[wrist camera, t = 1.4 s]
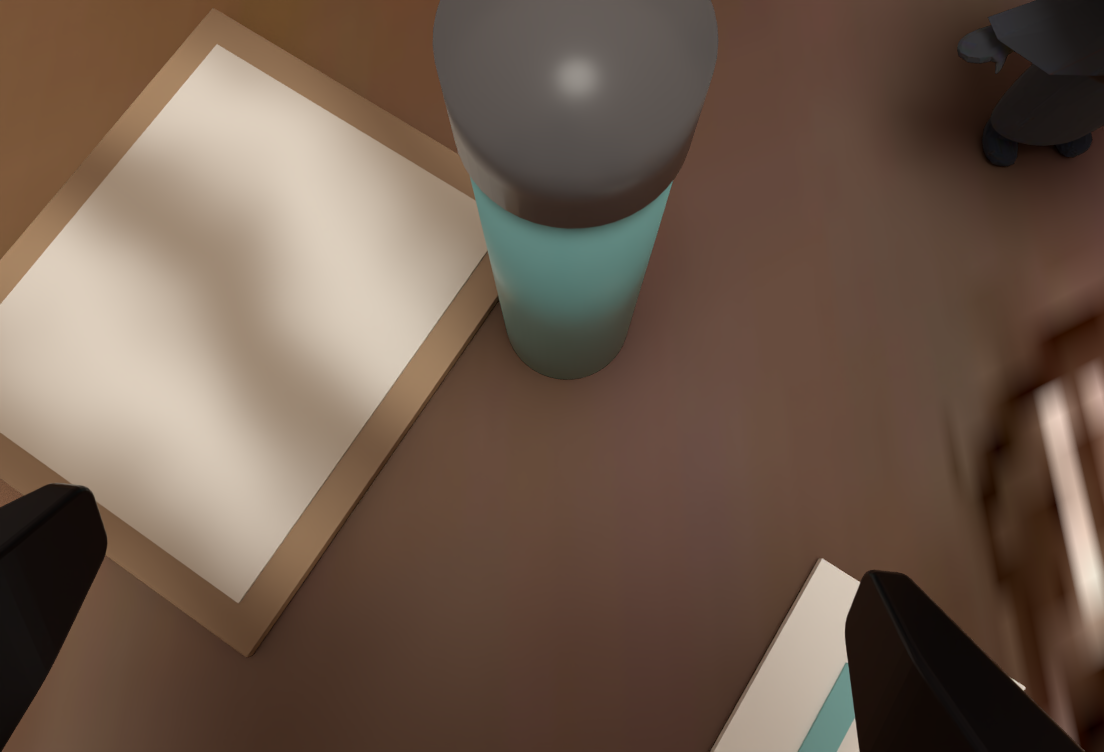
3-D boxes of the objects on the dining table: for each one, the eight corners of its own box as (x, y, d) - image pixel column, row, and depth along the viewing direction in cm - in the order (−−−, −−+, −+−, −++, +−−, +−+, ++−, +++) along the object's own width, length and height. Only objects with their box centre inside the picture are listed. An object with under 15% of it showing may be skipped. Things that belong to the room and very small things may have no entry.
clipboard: (252, 655, 21) (245, 658, 21) (-102, 398, 23) (-117, 395, 22) (555, 218, 24) (555, 211, 23) (218, 16, 26) (211, 5, 25)
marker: (586, 407, 23) (621, 218, 10) (477, 338, 23) (376, 73, 10) (656, 301, 23) (770, -3, 11) (548, 236, 24) (534, -130, 11)
